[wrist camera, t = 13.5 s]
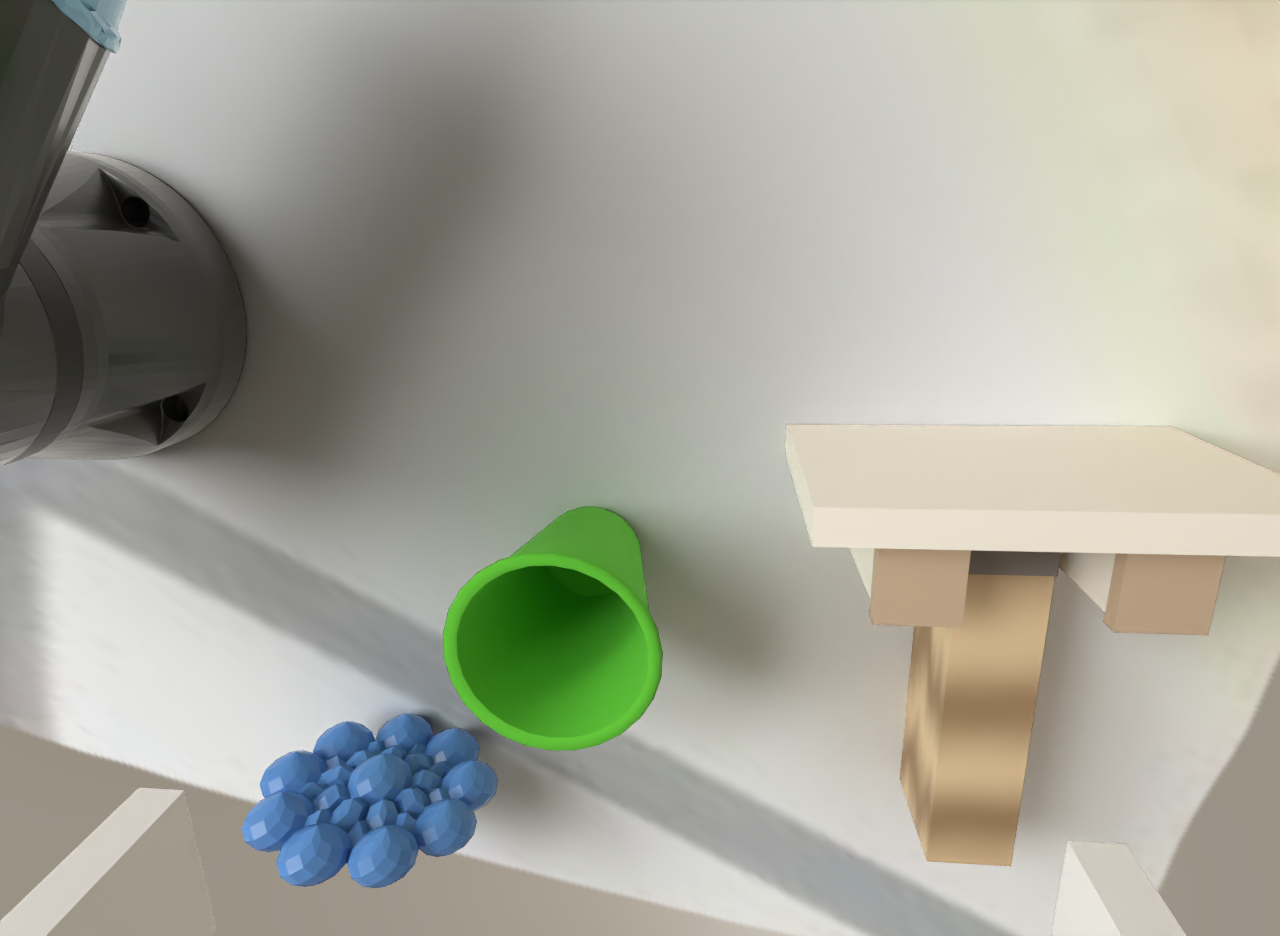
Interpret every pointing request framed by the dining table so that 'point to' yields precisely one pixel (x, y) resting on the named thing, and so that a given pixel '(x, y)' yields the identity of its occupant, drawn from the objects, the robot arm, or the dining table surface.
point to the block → (977, 710)
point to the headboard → (1035, 513)
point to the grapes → (370, 801)
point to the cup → (558, 636)
